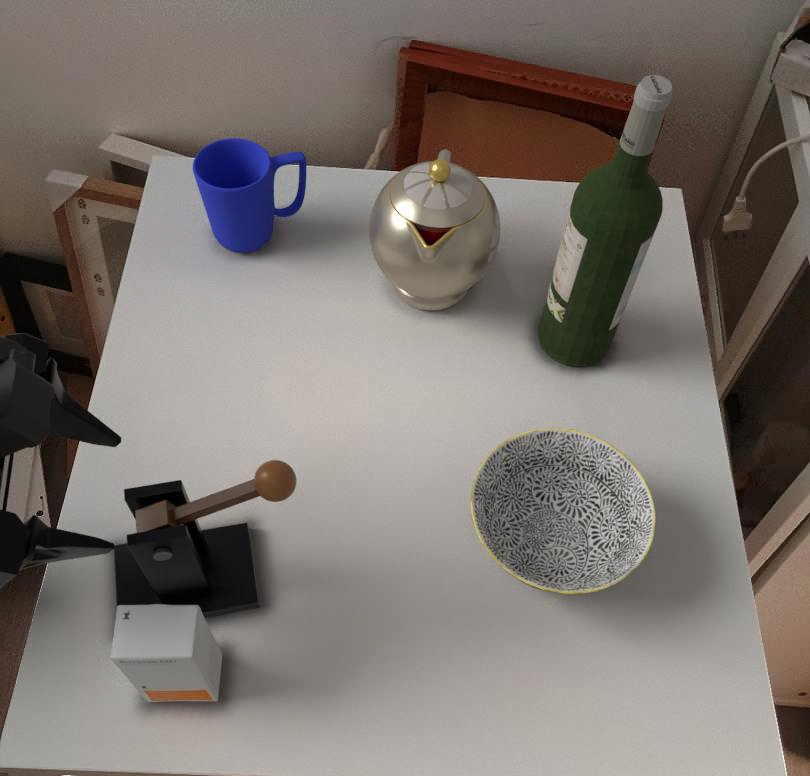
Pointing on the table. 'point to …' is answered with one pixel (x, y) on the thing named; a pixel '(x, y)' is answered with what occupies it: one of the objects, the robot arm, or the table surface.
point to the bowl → (563, 511)
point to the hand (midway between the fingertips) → (115, 493)
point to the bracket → (184, 560)
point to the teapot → (434, 232)
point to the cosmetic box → (167, 652)
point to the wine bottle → (606, 238)
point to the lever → (221, 498)
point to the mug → (243, 191)
